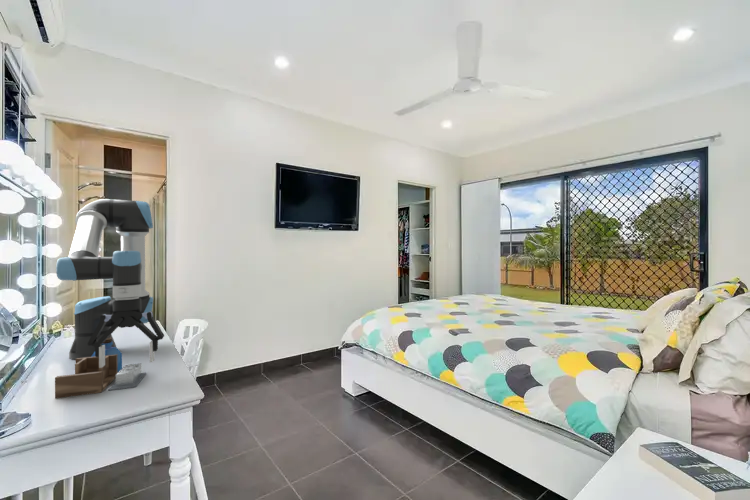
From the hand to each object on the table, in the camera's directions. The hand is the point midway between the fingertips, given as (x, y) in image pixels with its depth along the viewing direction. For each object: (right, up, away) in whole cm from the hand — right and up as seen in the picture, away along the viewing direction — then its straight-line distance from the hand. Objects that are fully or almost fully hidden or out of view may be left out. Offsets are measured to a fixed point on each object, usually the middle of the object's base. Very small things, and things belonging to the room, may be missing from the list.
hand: (127, 363), depth 111 cm
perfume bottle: (-14, -6, +9) cm, 18 cm away
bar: (-1, -6, +2) cm, 6 cm away
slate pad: (0, -6, +1) cm, 6 cm away
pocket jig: (-10, -6, -3) cm, 12 cm away
